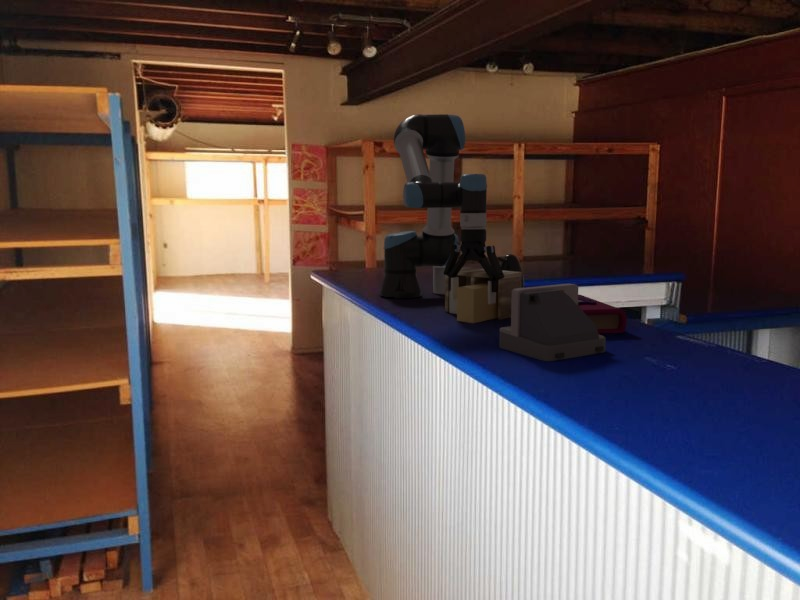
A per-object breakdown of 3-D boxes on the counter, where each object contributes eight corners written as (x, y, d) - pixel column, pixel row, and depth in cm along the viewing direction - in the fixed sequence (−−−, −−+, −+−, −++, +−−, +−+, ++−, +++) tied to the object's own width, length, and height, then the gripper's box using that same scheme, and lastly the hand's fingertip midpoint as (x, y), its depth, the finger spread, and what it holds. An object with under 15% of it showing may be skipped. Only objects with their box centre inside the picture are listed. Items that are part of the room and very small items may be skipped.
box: (449, 313, 215) (449, 291, 214) (465, 310, 221) (465, 288, 220) (464, 315, 211) (464, 292, 210) (480, 312, 216) (480, 290, 215)
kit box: (457, 321, 201) (457, 287, 200) (493, 313, 214) (493, 281, 213) (473, 323, 197) (473, 289, 196) (509, 315, 210) (509, 283, 209)
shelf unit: (445, 311, 217) (445, 269, 215) (465, 307, 225) (465, 267, 223) (501, 319, 203) (501, 275, 201) (520, 315, 210) (521, 272, 208)
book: (583, 316, 209) (584, 292, 208) (626, 335, 181) (627, 306, 180) (517, 319, 206) (517, 293, 205) (549, 337, 178) (550, 308, 177)
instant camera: (564, 338, 177) (566, 280, 174) (616, 355, 157) (619, 290, 155) (491, 345, 169) (492, 285, 167) (537, 364, 150) (538, 296, 148)
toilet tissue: (429, 291, 263) (429, 265, 261) (458, 290, 266) (458, 264, 265) (438, 295, 252) (438, 268, 251) (469, 293, 256) (469, 267, 254)
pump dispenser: (489, 295, 252) (490, 253, 250) (513, 293, 257) (514, 252, 254) (505, 298, 243) (505, 255, 241) (529, 296, 248) (530, 254, 245)
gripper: (431, 228, 204) (432, 298, 207) (501, 229, 187) (500, 306, 190) (448, 227, 209) (448, 296, 212) (516, 228, 192) (515, 303, 195)
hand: (472, 301), depth 201 cm, fingers open, 13 cm apart
